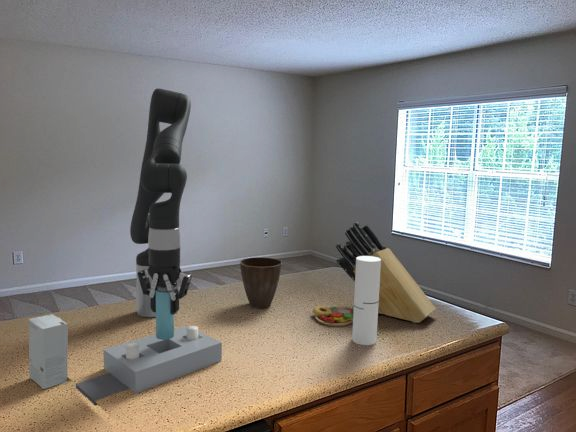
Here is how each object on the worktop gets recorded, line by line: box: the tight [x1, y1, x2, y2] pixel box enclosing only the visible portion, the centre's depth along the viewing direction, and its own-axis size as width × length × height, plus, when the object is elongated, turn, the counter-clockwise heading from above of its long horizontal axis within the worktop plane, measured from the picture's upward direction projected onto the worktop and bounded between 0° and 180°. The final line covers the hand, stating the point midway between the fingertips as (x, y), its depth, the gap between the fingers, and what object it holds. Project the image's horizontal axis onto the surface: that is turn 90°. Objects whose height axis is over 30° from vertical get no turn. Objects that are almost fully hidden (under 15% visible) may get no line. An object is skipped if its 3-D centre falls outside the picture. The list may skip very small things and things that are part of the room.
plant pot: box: [239, 256, 283, 309], centre depth 168 cm, size 15×15×16 cm
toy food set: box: [312, 305, 353, 327], centre depth 157 cm, size 13×13×3 cm
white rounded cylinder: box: [126, 343, 139, 361], centre depth 112 cm, size 3×3×7 cm
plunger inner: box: [187, 325, 199, 341], centre depth 124 cm, size 3×3×7 cm
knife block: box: [335, 221, 437, 324], centre depth 165 cm, size 11×35×31 cm, turn 54°
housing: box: [103, 324, 223, 394], centre depth 119 cm, size 16×24×6 cm, turn 136°
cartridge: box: [155, 286, 175, 340], centre depth 117 cm, size 4×4×13 cm
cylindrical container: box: [351, 256, 381, 346], centre depth 138 cm, size 7×7×25 cm
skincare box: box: [28, 313, 69, 390], centre depth 111 cm, size 8×6×15 cm
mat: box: [75, 372, 130, 406], centre depth 108 cm, size 10×10×1 cm
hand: (164, 312), depth 117 cm, fingers closed on cartridge, 4 cm apart
